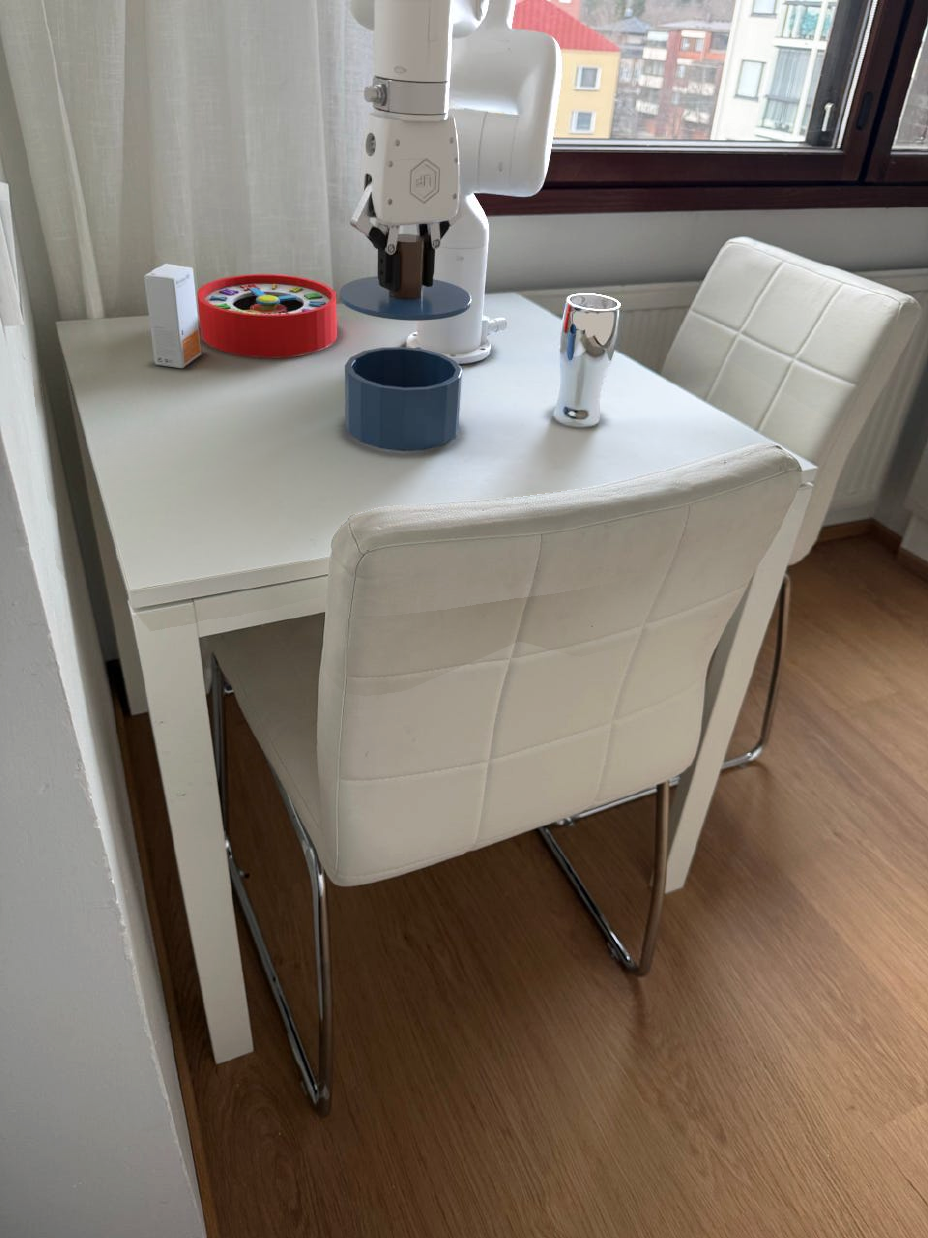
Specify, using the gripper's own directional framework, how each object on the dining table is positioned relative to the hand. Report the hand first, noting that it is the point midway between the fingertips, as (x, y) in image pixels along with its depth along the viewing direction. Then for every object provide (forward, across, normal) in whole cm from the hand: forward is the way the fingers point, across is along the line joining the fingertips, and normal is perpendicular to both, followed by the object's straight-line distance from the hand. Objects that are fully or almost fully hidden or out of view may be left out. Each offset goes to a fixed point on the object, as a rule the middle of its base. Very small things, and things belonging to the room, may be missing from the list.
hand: (405, 284), depth 102 cm
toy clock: (+18, +2, +38) cm, 42 cm away
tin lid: (+2, 0, 0) cm, 2 cm away
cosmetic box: (+18, -14, +34) cm, 41 cm away
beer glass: (+18, +22, -8) cm, 29 cm away
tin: (+18, 0, 0) cm, 18 cm away
